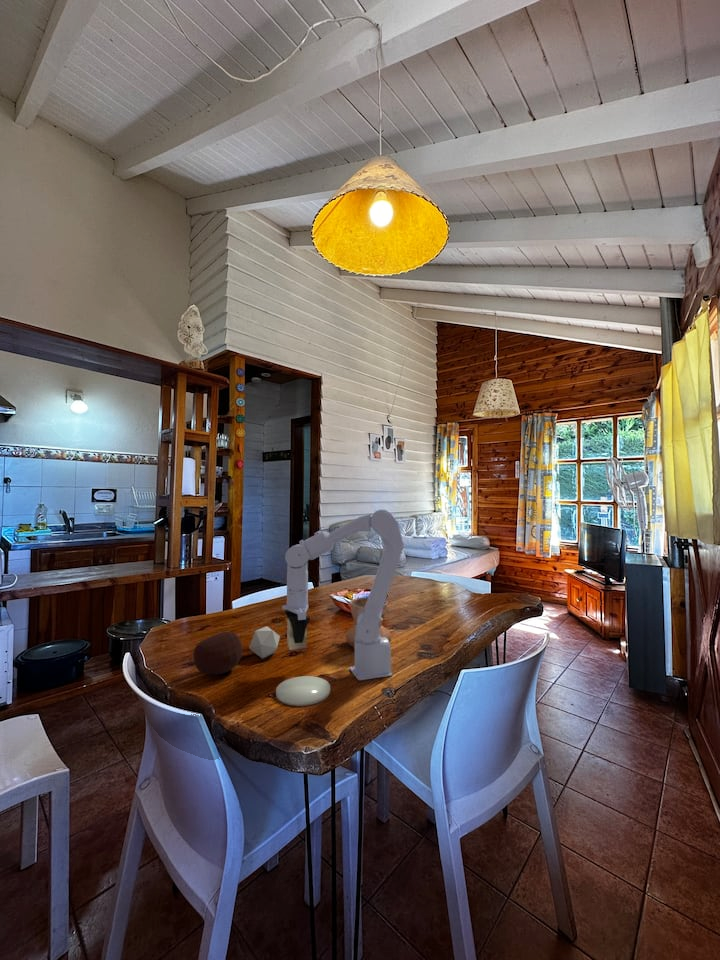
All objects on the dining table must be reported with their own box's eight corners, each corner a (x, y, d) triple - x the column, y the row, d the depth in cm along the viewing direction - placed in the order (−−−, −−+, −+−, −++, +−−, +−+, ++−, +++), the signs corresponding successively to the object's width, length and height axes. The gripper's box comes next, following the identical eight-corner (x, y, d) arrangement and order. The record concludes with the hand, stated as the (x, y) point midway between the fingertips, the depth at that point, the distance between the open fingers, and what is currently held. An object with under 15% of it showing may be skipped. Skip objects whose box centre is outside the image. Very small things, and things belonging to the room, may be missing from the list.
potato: (185, 675, 106) (186, 635, 107) (230, 660, 116) (231, 624, 117) (204, 688, 99) (205, 645, 99) (251, 671, 108) (252, 632, 109)
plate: (323, 677, 105) (323, 673, 105) (336, 700, 93) (336, 696, 93) (272, 684, 101) (272, 680, 101) (279, 709, 88) (280, 705, 89)
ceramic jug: (401, 652, 122) (401, 605, 123) (357, 659, 117) (357, 610, 117) (376, 634, 139) (376, 593, 140) (337, 640, 133) (337, 596, 134)
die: (282, 659, 118) (286, 627, 124) (261, 652, 113) (266, 618, 119) (263, 664, 122) (267, 632, 128) (241, 657, 116) (247, 624, 123)
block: (303, 642, 111) (303, 616, 112) (306, 647, 107) (306, 621, 108) (287, 644, 110) (287, 618, 110) (289, 649, 106) (289, 623, 106)
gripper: (279, 584, 115) (278, 632, 114) (286, 596, 101) (286, 650, 101) (303, 583, 117) (303, 630, 117) (314, 594, 104) (313, 647, 103)
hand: (297, 639), depth 109 cm, fingers closed on block, 4 cm apart
